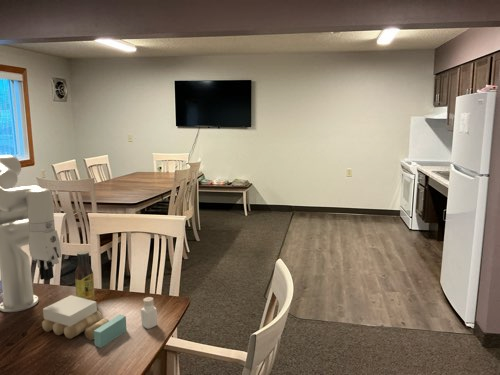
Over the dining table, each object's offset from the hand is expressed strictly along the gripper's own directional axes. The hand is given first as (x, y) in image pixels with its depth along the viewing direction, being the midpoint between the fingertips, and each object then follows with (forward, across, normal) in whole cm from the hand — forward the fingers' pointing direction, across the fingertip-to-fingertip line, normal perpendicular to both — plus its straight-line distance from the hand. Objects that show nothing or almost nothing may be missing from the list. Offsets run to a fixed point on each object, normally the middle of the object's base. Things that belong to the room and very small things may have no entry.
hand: (47, 278), depth 133 cm
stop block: (+15, -27, 0) cm, 31 cm away
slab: (+11, -10, 0) cm, 15 cm away
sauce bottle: (+15, -2, -14) cm, 21 cm away
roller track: (+15, -14, 0) cm, 21 cm away
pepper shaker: (+15, -34, -11) cm, 38 cm away
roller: (+15, -22, 0) cm, 27 cm away
